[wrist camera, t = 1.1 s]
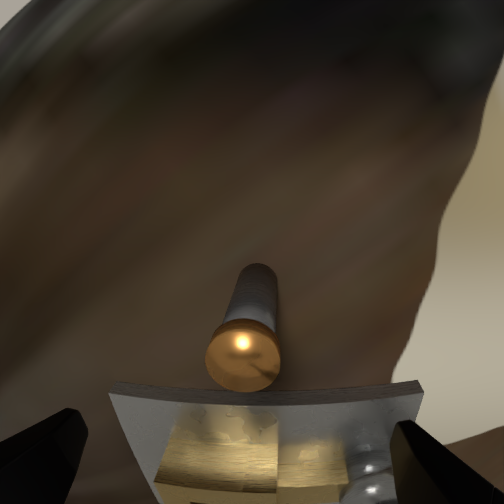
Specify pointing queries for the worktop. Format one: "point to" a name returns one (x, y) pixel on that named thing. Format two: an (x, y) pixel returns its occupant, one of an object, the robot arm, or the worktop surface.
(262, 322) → the lever with copper knob
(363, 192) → the worktop surface
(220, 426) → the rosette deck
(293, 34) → the worktop surface
